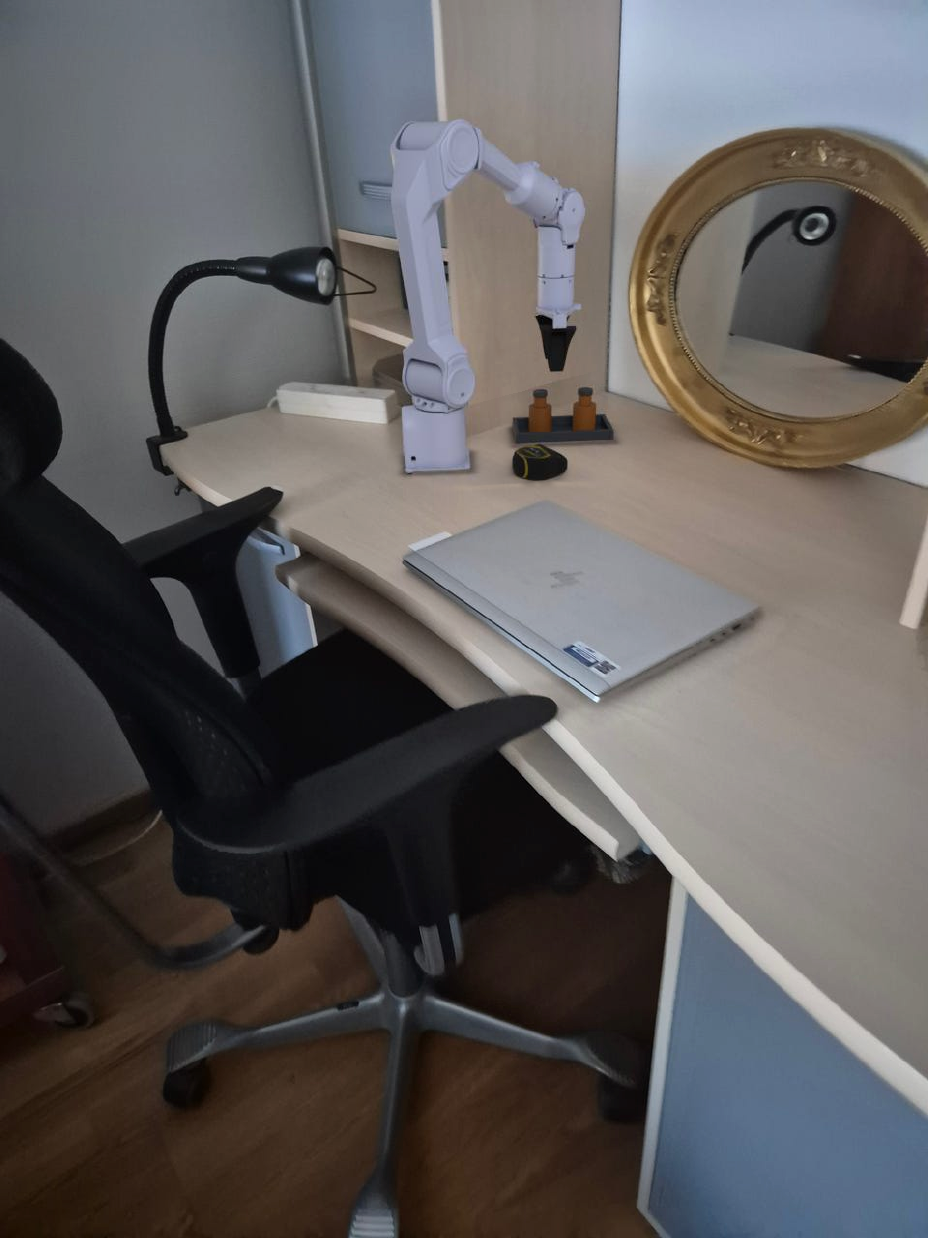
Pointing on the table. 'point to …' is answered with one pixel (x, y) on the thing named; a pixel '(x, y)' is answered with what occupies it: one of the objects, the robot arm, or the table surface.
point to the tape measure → (538, 462)
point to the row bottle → (540, 412)
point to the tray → (562, 430)
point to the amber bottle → (584, 410)
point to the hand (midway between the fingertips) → (554, 364)
